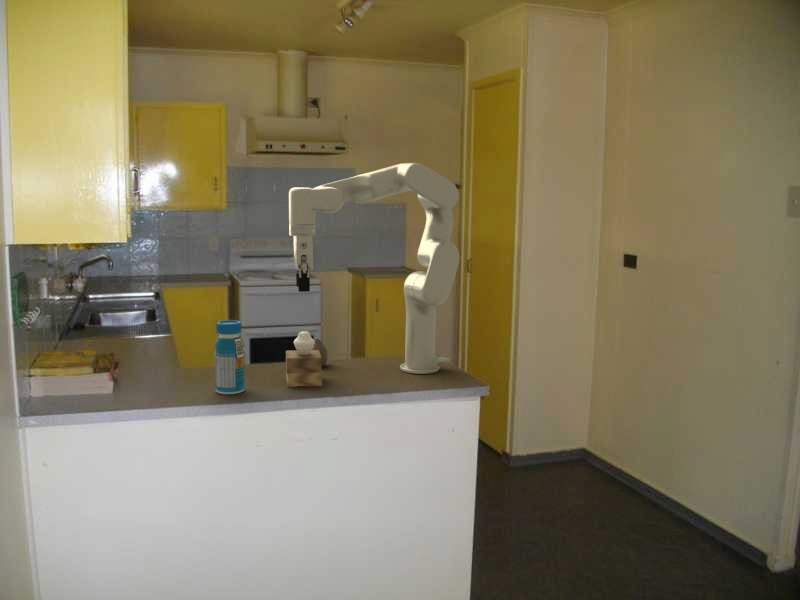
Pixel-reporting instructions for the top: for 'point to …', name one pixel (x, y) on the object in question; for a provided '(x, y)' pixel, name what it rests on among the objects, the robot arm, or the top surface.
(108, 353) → the top surface
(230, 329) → the beverage bottle
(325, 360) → the vase
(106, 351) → the top surface
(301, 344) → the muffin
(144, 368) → the top surface
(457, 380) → the top surface
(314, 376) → the tower base
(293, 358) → the tower top
